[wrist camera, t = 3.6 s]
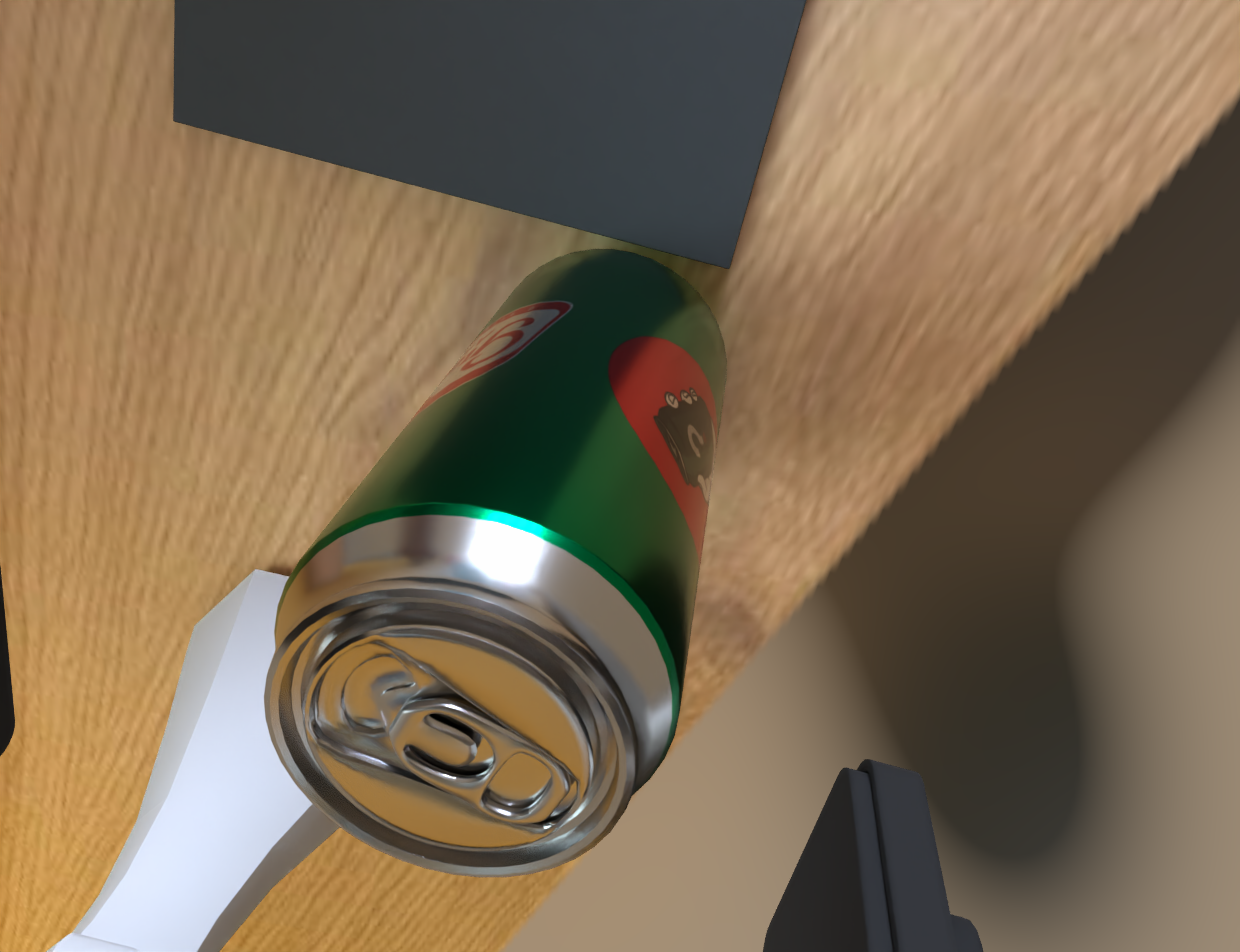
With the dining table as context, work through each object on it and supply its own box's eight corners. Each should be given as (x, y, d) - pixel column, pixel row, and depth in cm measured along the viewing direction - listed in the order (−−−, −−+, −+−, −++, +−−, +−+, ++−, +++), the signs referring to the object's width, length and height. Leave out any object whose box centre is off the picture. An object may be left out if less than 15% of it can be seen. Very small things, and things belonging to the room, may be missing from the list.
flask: (165, 706, 28) (-116, 1036, 19) (239, 521, 25) (-60, 814, 16) (390, 817, 29) (219, 1185, 20) (490, 652, 25) (338, 1001, 17)
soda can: (565, 194, 20) (319, 469, 9) (774, 322, 20) (762, 716, 10) (463, 386, 22) (177, 775, 12) (652, 495, 23) (540, 958, 12)
